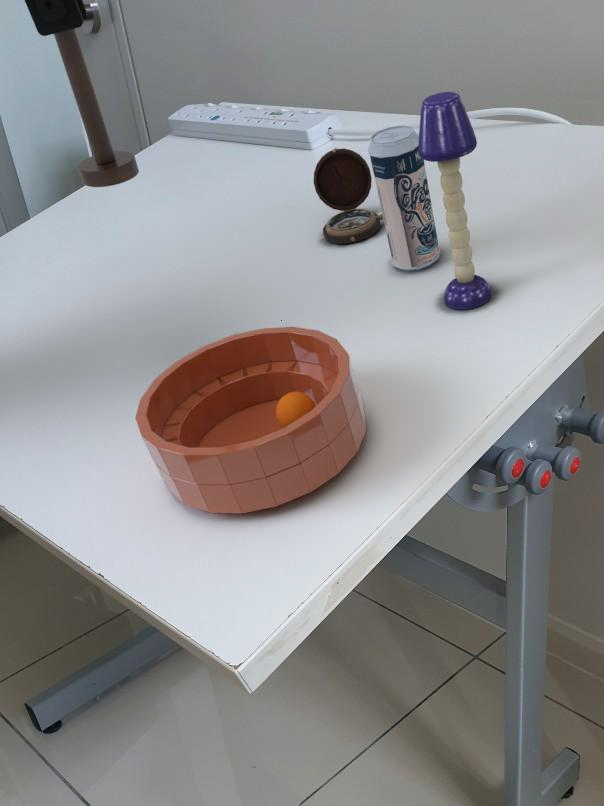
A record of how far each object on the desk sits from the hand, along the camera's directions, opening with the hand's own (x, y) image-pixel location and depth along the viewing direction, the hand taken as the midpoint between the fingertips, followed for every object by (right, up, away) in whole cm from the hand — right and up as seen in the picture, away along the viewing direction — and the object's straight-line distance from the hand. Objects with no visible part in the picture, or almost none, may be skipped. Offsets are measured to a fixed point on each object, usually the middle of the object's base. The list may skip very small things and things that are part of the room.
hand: (64, 25), depth 61 cm
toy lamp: (+30, -15, +16) cm, 37 cm away
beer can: (+25, -10, +23) cm, 35 cm away
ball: (+16, -27, +4) cm, 31 cm away
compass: (+19, -3, +31) cm, 37 cm away
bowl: (+14, -30, +5) cm, 33 cm away
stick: (+1, -8, +7) cm, 10 cm away
